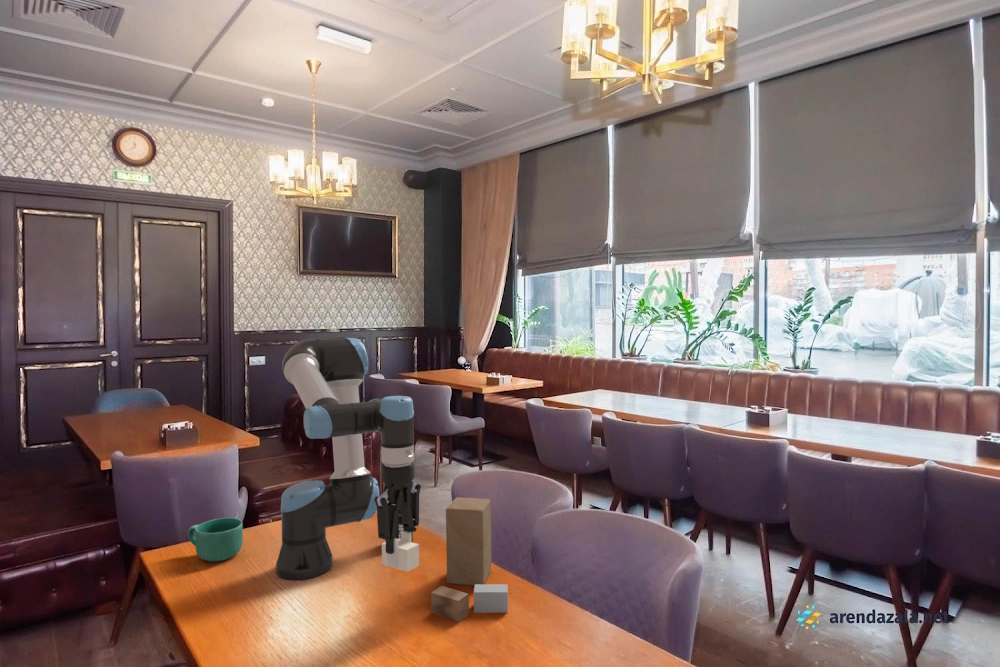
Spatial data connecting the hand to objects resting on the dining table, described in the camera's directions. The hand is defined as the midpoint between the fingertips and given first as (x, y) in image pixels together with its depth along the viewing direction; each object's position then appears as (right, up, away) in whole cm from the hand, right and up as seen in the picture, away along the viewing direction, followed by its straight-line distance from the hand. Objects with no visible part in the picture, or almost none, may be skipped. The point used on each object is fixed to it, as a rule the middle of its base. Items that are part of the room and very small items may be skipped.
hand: (399, 562), depth 136 cm
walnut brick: (+12, -13, +1) cm, 17 cm away
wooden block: (+15, -12, +20) cm, 28 cm away
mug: (-61, -13, +36) cm, 72 cm away
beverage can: (-8, -12, +44) cm, 46 cm away
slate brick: (+21, -13, +3) cm, 25 cm away
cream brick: (0, -1, 0) cm, 1 cm away
